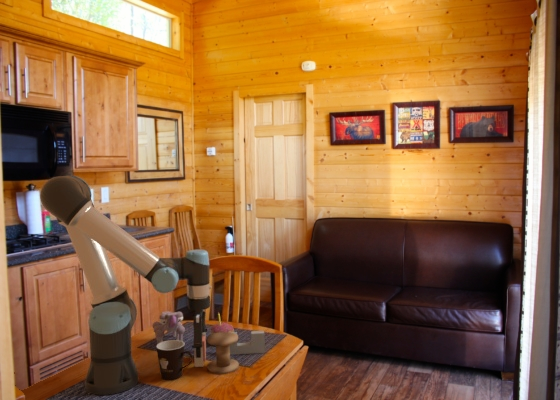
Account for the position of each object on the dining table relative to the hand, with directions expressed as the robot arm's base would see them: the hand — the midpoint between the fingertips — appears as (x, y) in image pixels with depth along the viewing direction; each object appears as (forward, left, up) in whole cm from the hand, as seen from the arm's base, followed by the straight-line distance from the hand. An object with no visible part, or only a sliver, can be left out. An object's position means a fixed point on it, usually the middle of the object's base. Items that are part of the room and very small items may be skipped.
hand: (200, 358), depth 165 cm
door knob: (+8, -8, 0) cm, 11 cm away
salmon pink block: (0, 0, 0) cm, 0 cm away
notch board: (+15, +4, 0) cm, 15 cm away
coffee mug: (-7, -14, 0) cm, 16 cm away
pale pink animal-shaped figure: (-12, +14, 0) cm, 18 cm away
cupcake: (+7, +15, 0) cm, 17 cm away
